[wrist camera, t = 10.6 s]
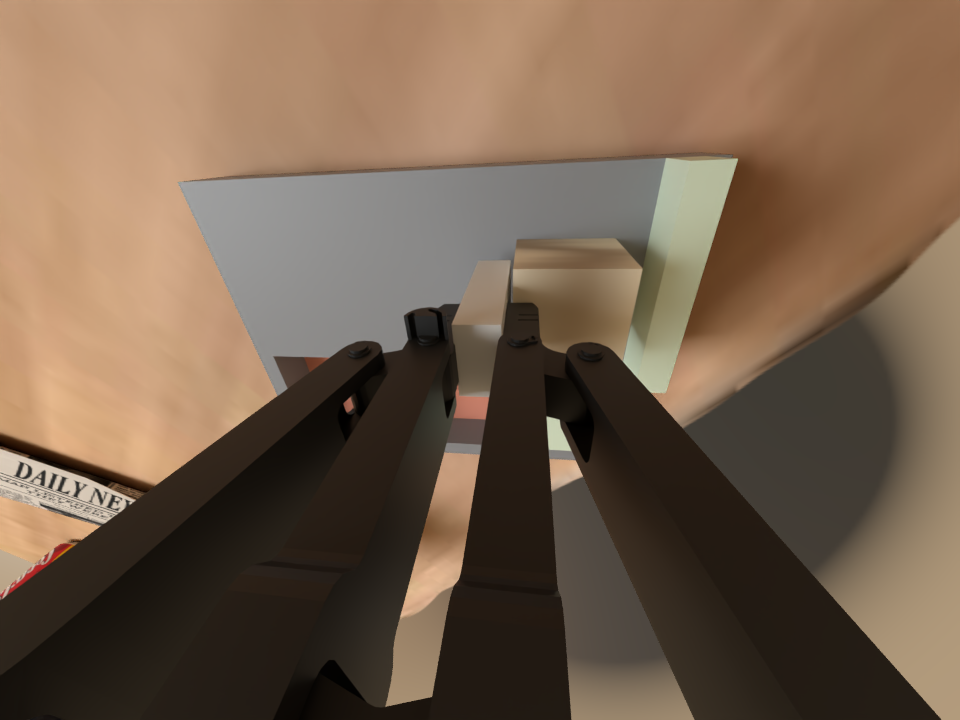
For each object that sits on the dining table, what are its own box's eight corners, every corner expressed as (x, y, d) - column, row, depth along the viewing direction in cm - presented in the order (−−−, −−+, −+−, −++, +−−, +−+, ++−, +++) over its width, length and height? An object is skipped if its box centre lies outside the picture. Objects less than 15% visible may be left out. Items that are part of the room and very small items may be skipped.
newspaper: (-25, 471, 42) (-66, 496, 39) (-78, 402, 36) (-133, 425, 33) (256, 557, 46) (237, 585, 43) (255, 508, 39) (233, 538, 36)
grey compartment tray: (320, 417, 29) (280, 469, 24) (223, 176, 19) (127, 188, 15) (629, 432, 26) (651, 496, 21) (701, 152, 16) (770, 157, 11)
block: (515, 324, 19) (511, 371, 15) (516, 239, 16) (513, 269, 12) (600, 326, 18) (619, 374, 14) (615, 238, 16) (642, 268, 12)
